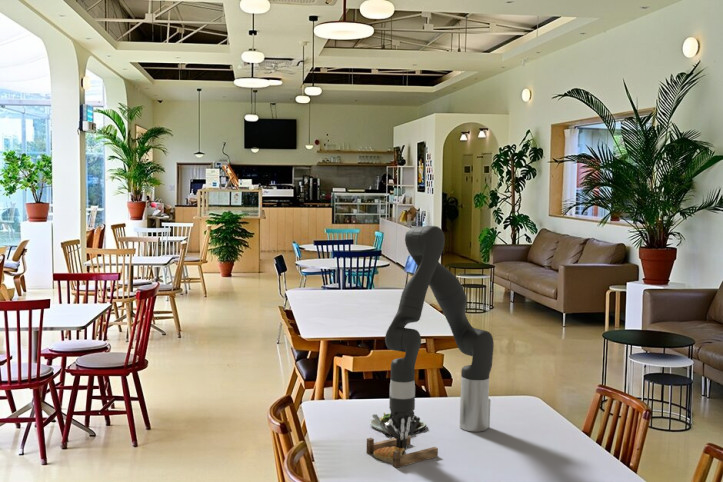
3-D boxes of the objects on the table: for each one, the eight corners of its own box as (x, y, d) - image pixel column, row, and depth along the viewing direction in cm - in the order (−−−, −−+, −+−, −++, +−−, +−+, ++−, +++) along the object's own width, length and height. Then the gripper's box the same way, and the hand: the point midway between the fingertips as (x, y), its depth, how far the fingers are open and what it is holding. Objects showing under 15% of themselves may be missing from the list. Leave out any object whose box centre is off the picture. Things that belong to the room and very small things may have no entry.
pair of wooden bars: (407, 442, 235) (407, 428, 235) (437, 456, 224) (438, 441, 224) (366, 452, 226) (366, 438, 226) (396, 467, 215) (396, 452, 214)
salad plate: (354, 424, 253) (355, 411, 253) (394, 414, 264) (394, 401, 264) (392, 440, 238) (393, 426, 238) (433, 429, 249) (433, 416, 249)
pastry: (370, 460, 220) (370, 448, 220) (377, 453, 226) (377, 440, 226) (401, 465, 217) (401, 452, 217) (407, 457, 224) (407, 444, 223)
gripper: (411, 387, 231) (410, 442, 232) (376, 394, 223) (376, 451, 224) (427, 393, 225) (426, 449, 226) (393, 401, 217) (392, 459, 218)
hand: (401, 450), depth 225 cm, fingers closed
